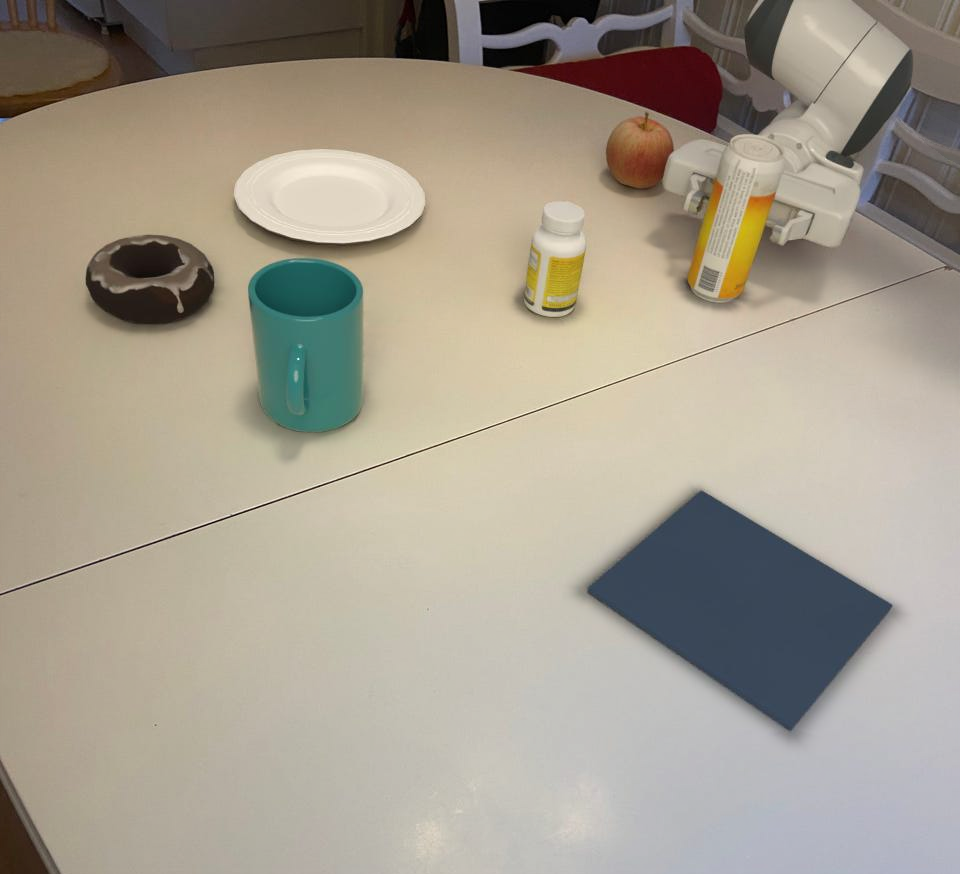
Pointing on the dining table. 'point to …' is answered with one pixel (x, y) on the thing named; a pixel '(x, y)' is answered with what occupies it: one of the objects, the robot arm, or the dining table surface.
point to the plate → (329, 197)
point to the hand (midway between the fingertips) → (734, 220)
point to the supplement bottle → (556, 260)
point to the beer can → (735, 216)
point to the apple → (639, 151)
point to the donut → (150, 279)
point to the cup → (308, 343)
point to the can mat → (743, 606)
